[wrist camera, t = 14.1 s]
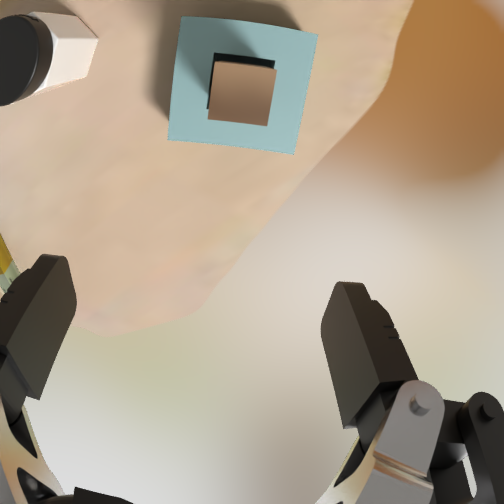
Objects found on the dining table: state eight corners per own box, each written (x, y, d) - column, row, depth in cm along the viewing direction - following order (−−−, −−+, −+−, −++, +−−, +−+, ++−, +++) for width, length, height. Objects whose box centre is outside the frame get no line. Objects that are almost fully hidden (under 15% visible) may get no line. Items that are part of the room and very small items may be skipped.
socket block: (189, 21, 26) (181, 16, 22) (306, 37, 27) (318, 34, 23) (176, 128, 32) (167, 140, 28) (286, 141, 34) (293, 154, 30)
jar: (94, 7, 23) (36, -5, 13) (105, 71, 28) (50, 84, 18) (30, 36, 23) (-36, 43, 14) (41, 95, 28) (-22, 121, 18)
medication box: (30, 287, 44) (22, 304, 41) (19, 289, 44) (11, 305, 41) (-2, 227, 37) (-13, 242, 34) (-13, 231, 37) (-24, 246, 34)
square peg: (222, 60, 28) (214, 61, 18) (262, 65, 28) (277, 70, 18) (216, 97, 30) (207, 119, 20) (256, 102, 30) (267, 126, 21)
